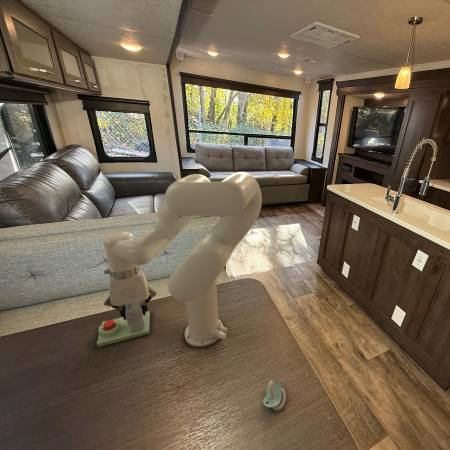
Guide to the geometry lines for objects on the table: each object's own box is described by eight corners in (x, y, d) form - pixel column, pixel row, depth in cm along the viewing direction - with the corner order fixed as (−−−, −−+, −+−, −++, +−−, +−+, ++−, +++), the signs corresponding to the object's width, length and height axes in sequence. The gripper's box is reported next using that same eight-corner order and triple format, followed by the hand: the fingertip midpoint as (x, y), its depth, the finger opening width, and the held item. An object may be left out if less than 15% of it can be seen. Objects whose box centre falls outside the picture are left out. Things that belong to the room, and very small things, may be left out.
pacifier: (287, 387, 71) (267, 384, 72) (289, 373, 69) (268, 369, 69) (283, 415, 65) (261, 411, 65) (285, 400, 62) (262, 396, 63)
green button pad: (149, 314, 92) (148, 307, 91) (149, 333, 84) (147, 327, 83) (103, 324, 86) (101, 318, 84) (97, 347, 78) (95, 340, 76)
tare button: (116, 322, 84) (115, 318, 83) (114, 329, 81) (113, 325, 81) (105, 325, 82) (104, 321, 82) (103, 331, 80) (102, 327, 79)
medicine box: (145, 328, 84) (141, 308, 81) (129, 333, 82) (124, 312, 78) (143, 313, 90) (139, 294, 87) (129, 317, 88) (124, 298, 84)
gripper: (88, 282, 70) (102, 330, 77) (156, 271, 78) (163, 315, 85) (93, 268, 76) (106, 314, 83) (156, 259, 84) (163, 301, 91)
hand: (135, 314), depth 84 cm, fingers closed on medicine box, 4 cm apart
